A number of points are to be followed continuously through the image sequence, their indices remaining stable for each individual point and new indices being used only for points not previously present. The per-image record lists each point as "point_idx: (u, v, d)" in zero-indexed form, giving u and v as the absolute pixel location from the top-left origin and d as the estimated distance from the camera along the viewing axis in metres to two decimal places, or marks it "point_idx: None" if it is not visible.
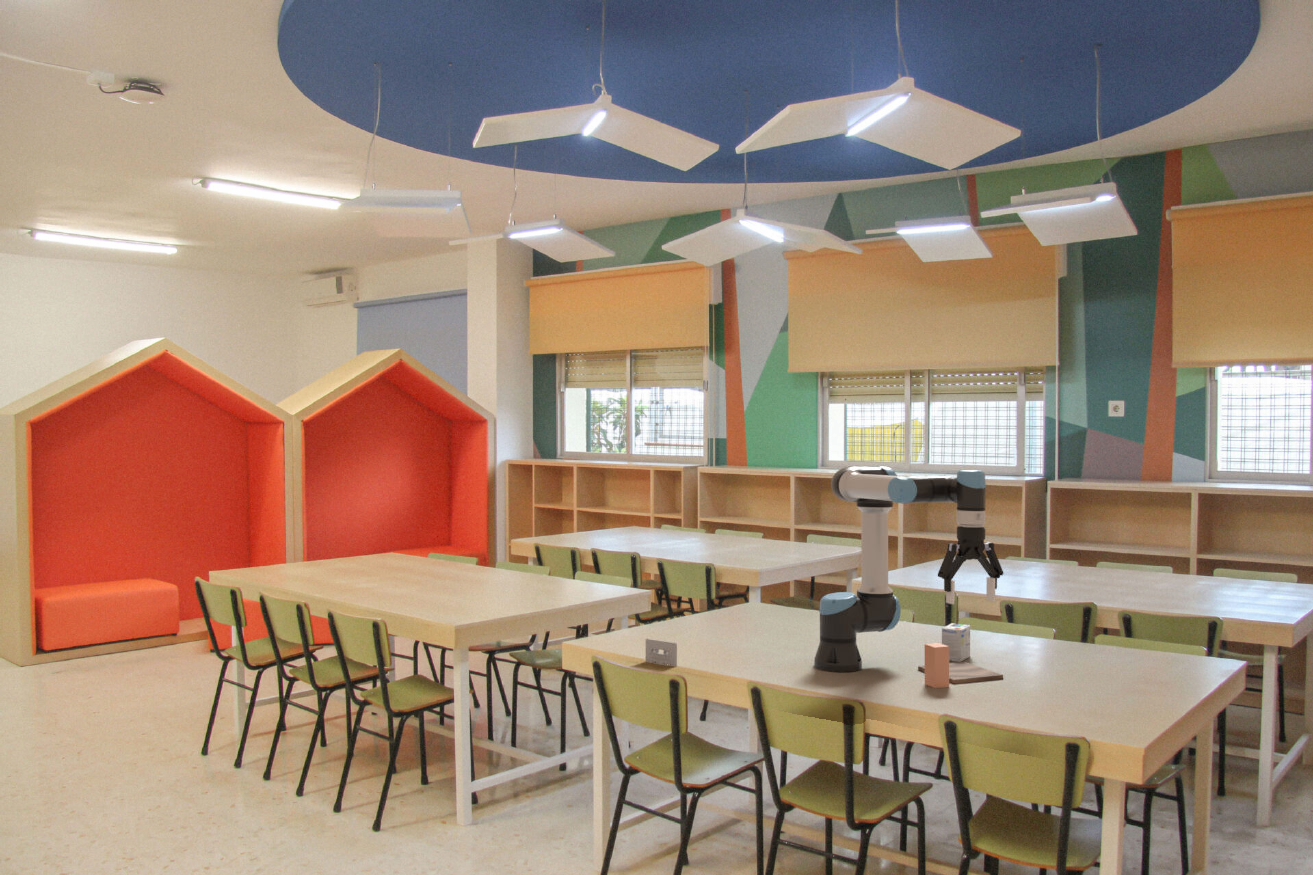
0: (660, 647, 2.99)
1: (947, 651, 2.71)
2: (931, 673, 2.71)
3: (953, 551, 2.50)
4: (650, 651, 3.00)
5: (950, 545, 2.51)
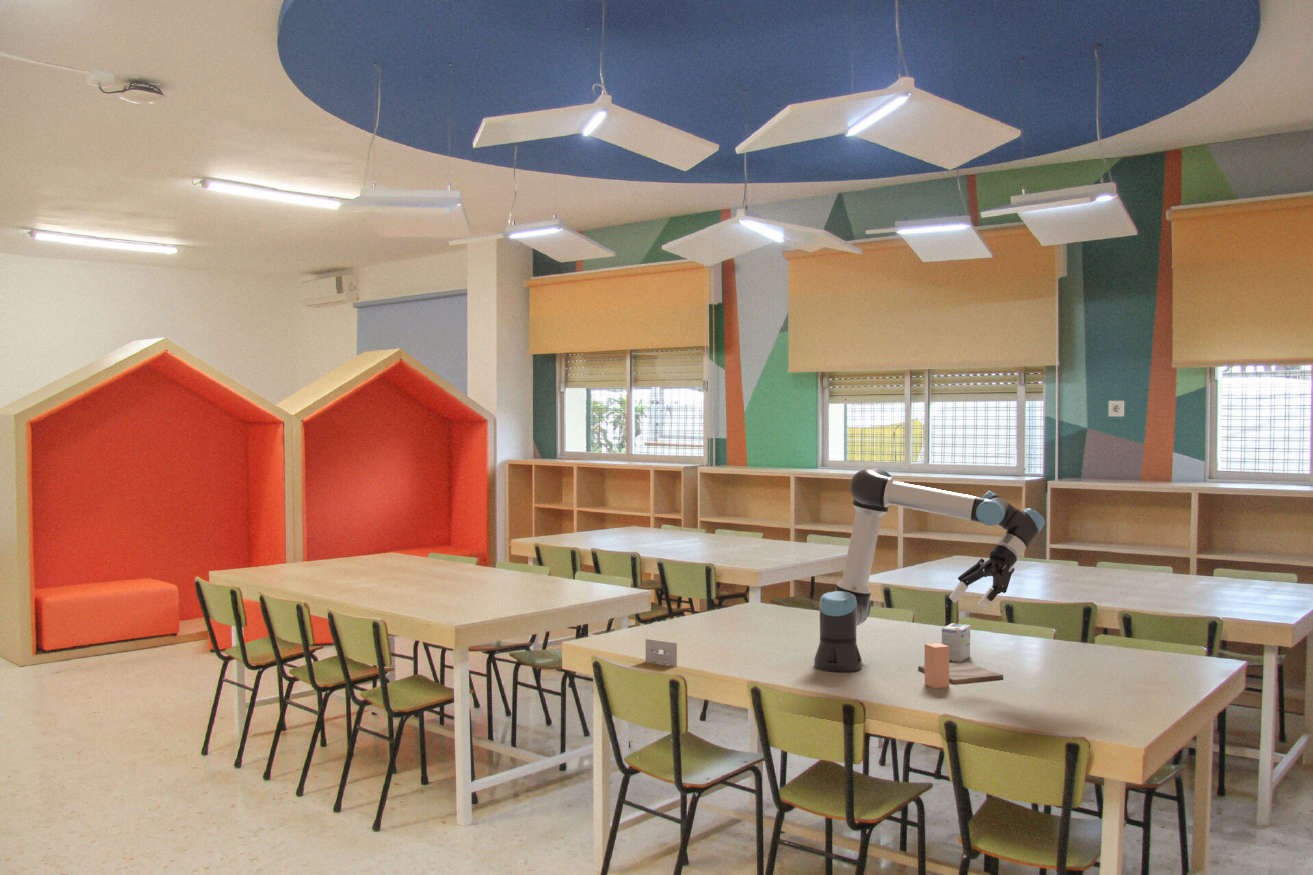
0: (660, 647, 2.98)
1: (947, 651, 2.71)
2: (931, 673, 2.71)
3: None
4: (650, 651, 3.00)
5: (1012, 567, 2.72)
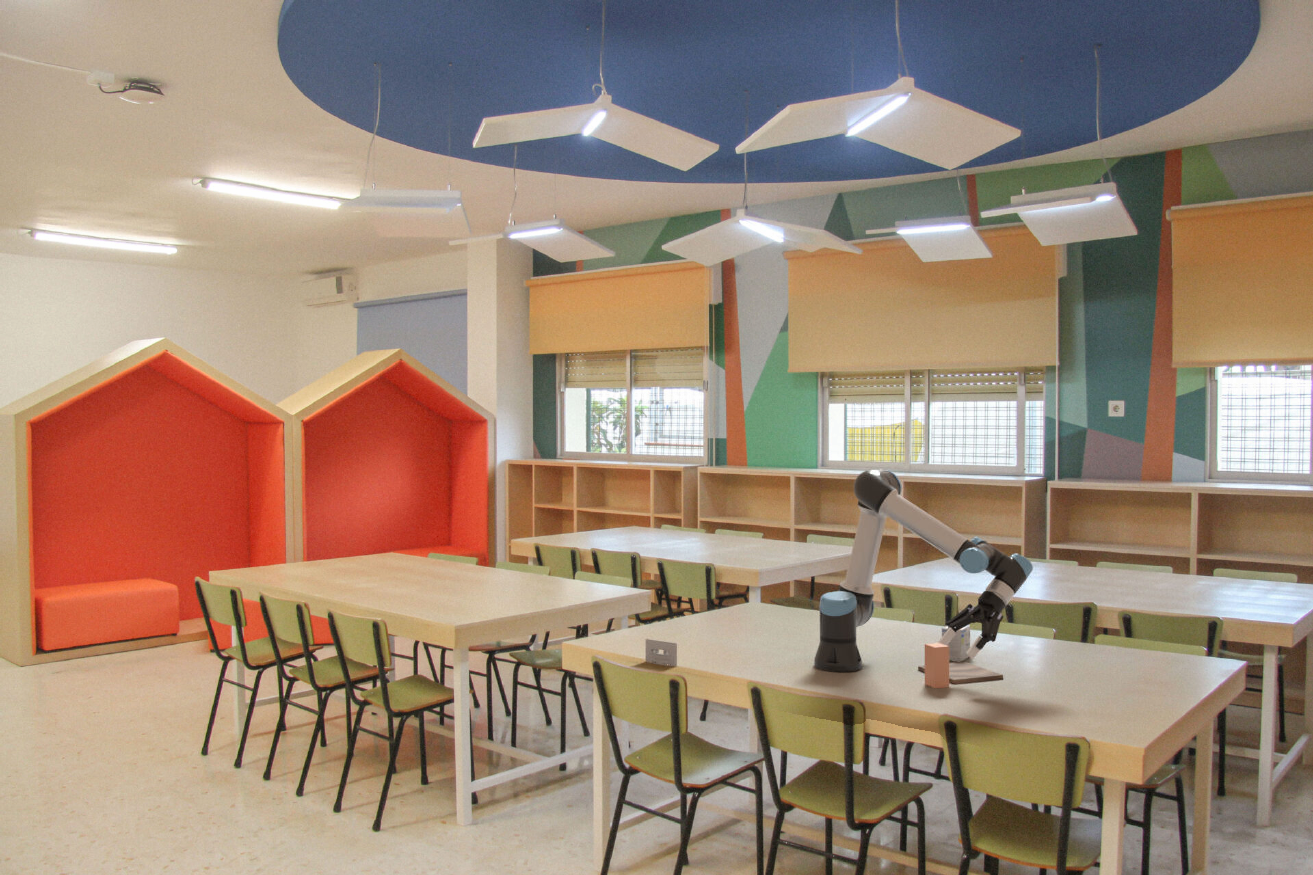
0: (660, 647, 2.98)
1: (947, 651, 2.71)
2: (931, 673, 2.71)
3: None
4: (650, 651, 3.00)
5: (1000, 615, 2.71)
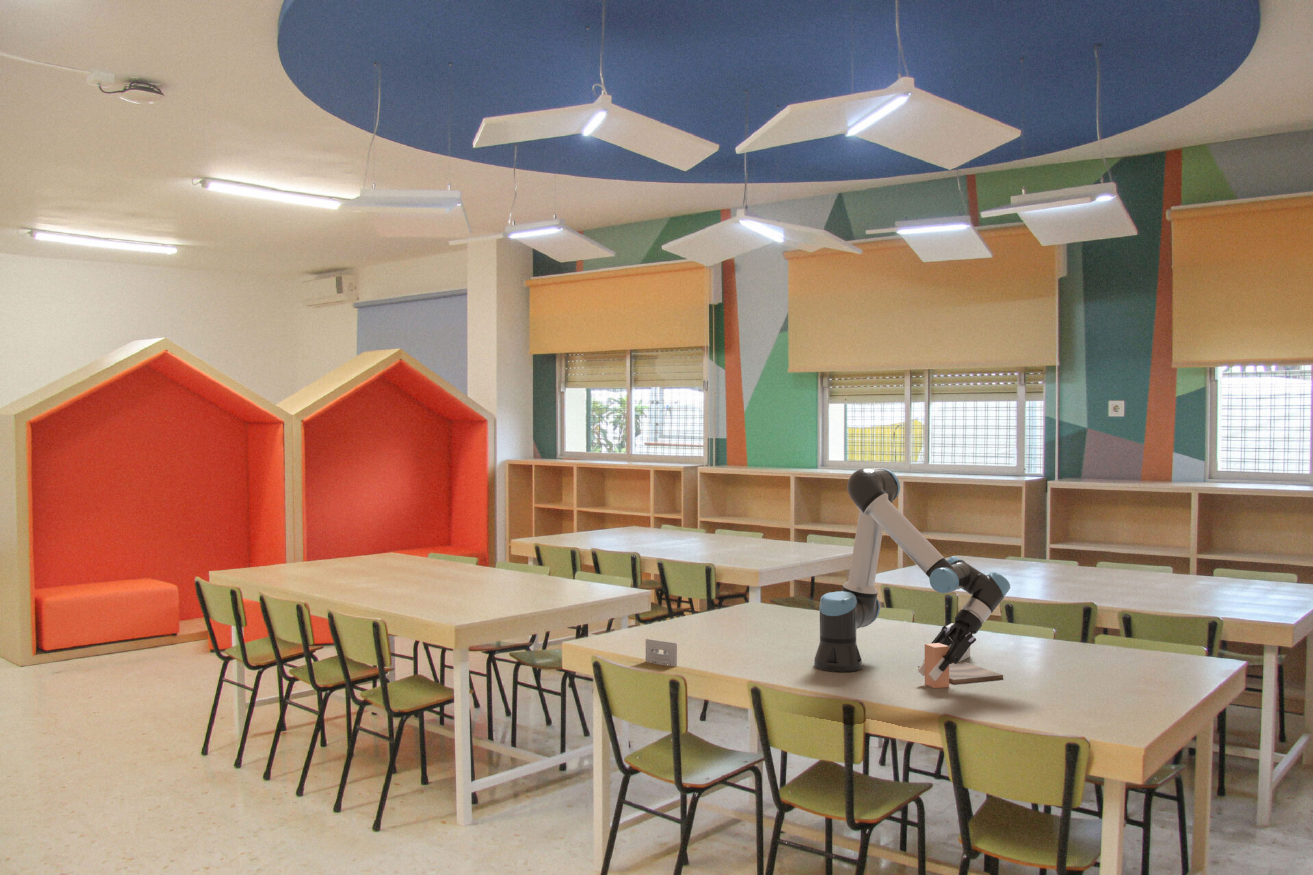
0: (660, 647, 2.98)
1: (947, 651, 2.71)
2: None
3: None
4: (650, 651, 3.00)
5: (973, 638, 2.69)
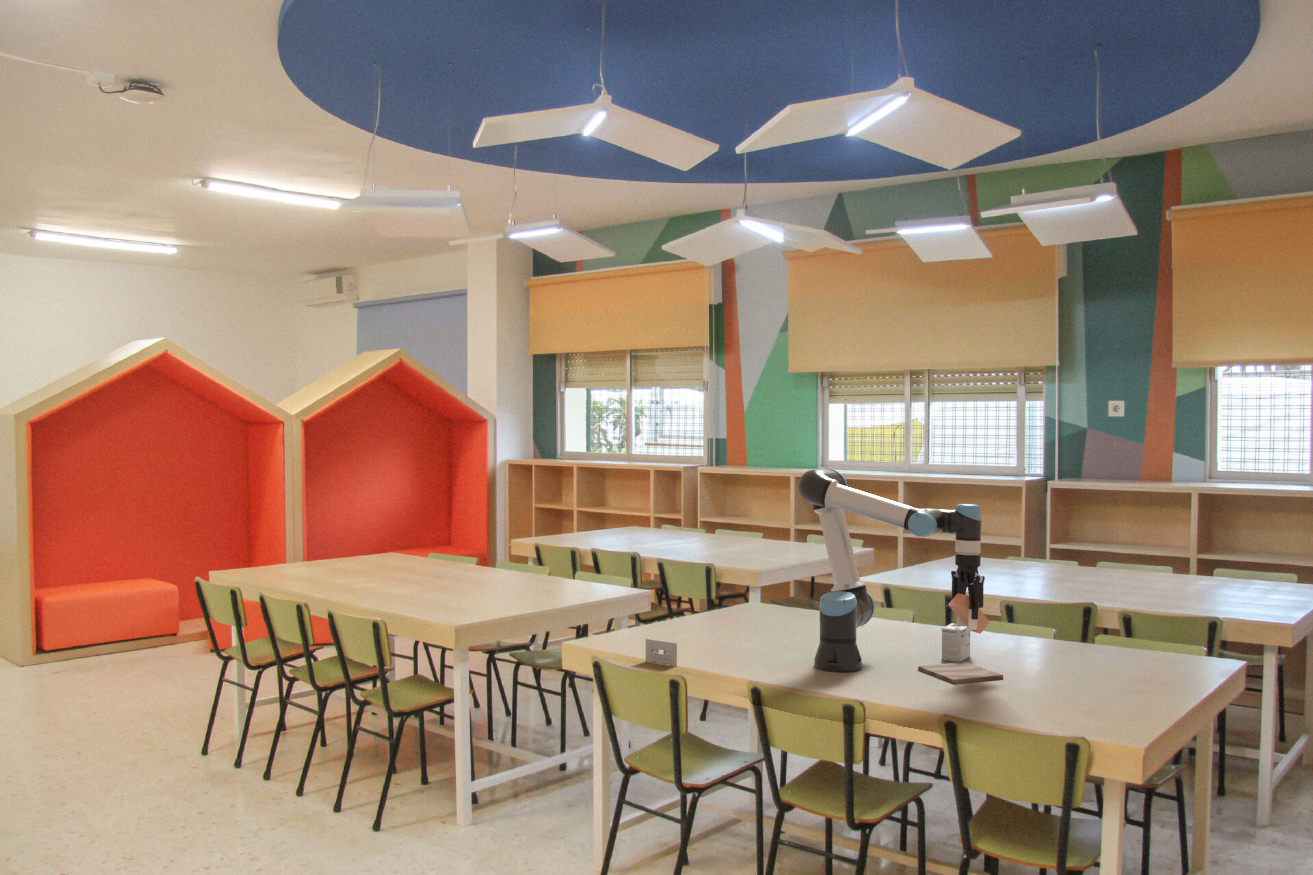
0: (660, 647, 2.98)
1: (969, 600, 2.84)
2: None
3: None
4: (650, 651, 3.00)
5: (981, 578, 2.80)
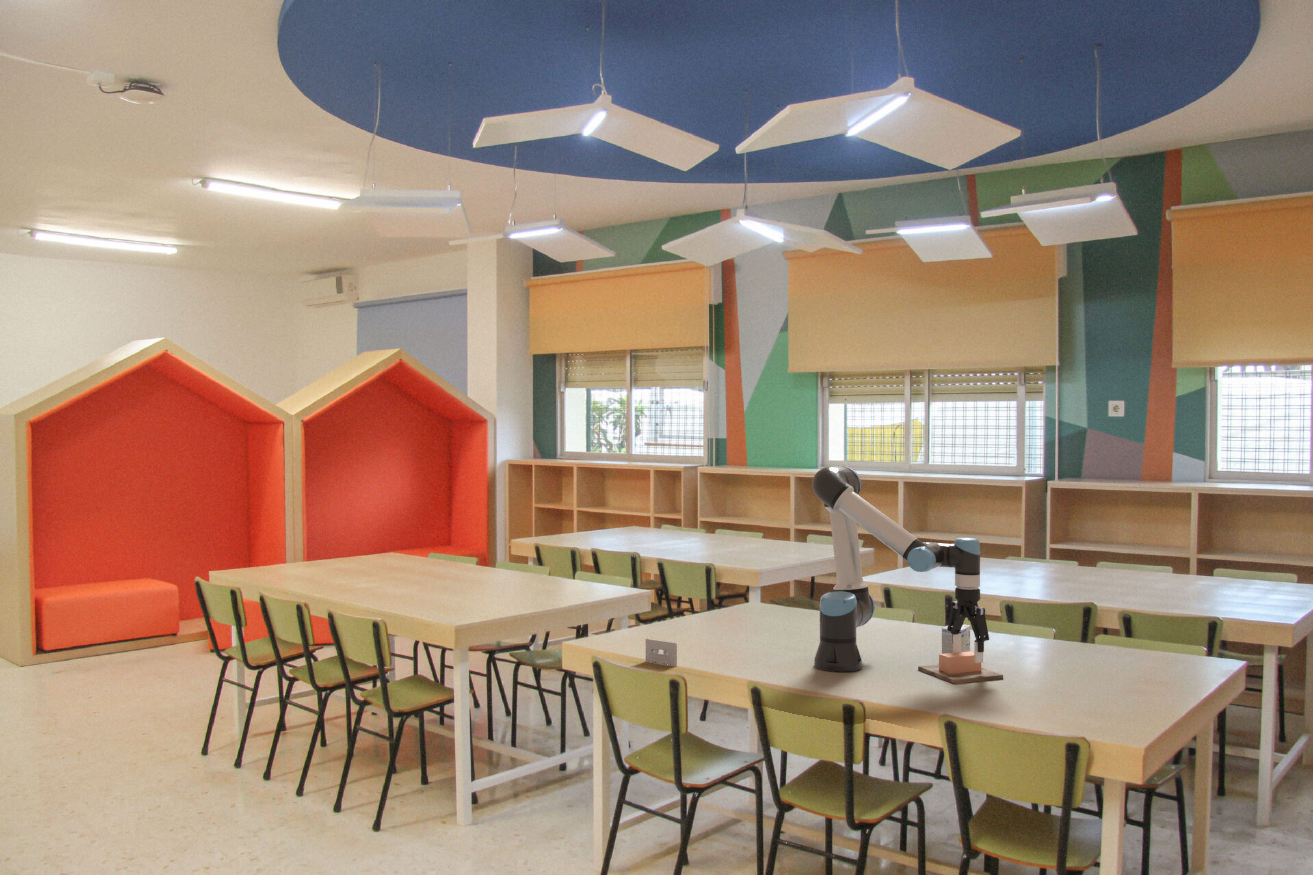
0: (660, 647, 2.98)
1: (953, 659, 2.82)
2: None
3: None
4: (650, 651, 3.00)
5: (982, 610, 2.80)
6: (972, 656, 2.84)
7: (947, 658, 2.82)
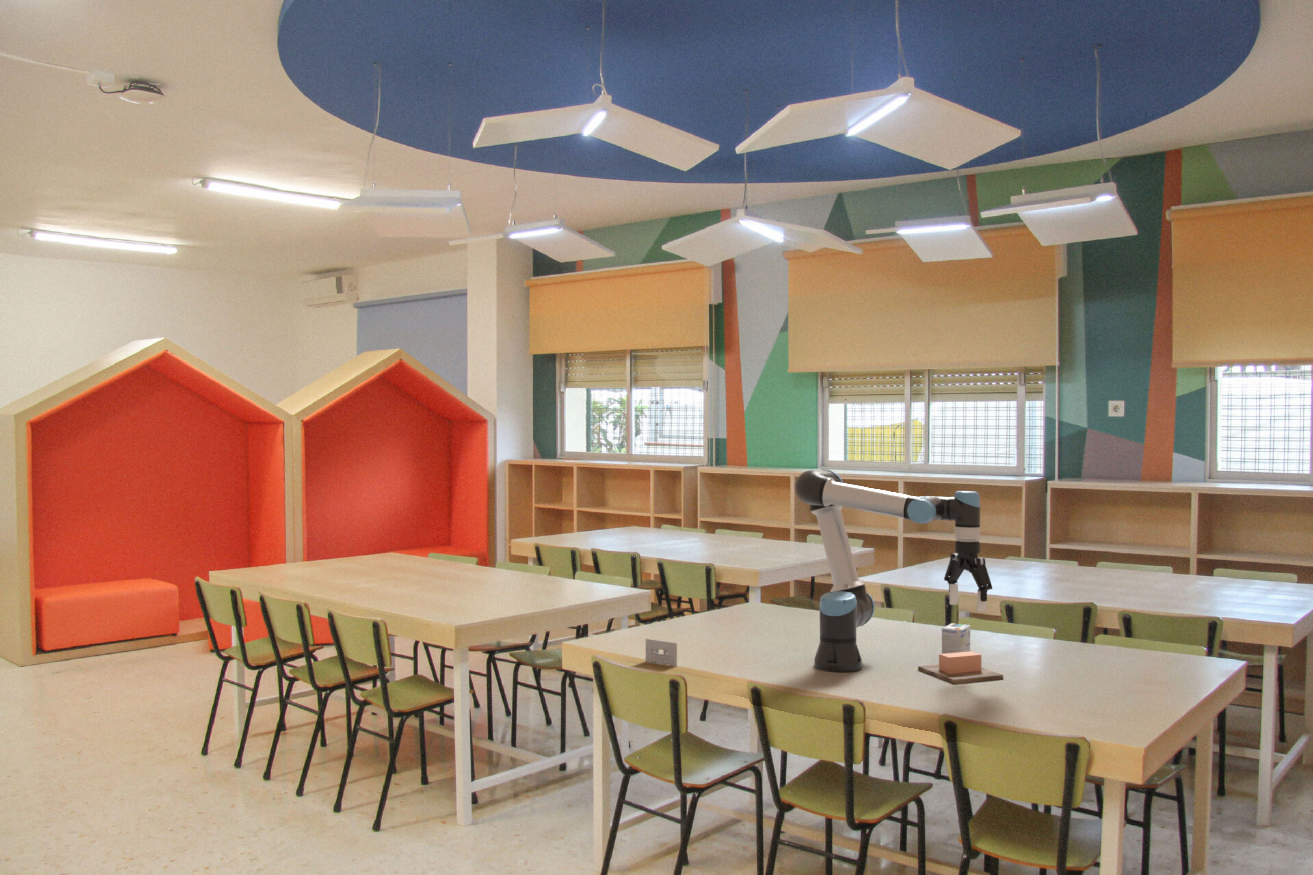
0: (660, 647, 2.99)
1: (953, 659, 2.82)
2: None
3: None
4: (650, 651, 3.00)
5: (982, 559, 2.81)
6: (972, 656, 2.84)
7: (947, 658, 2.82)
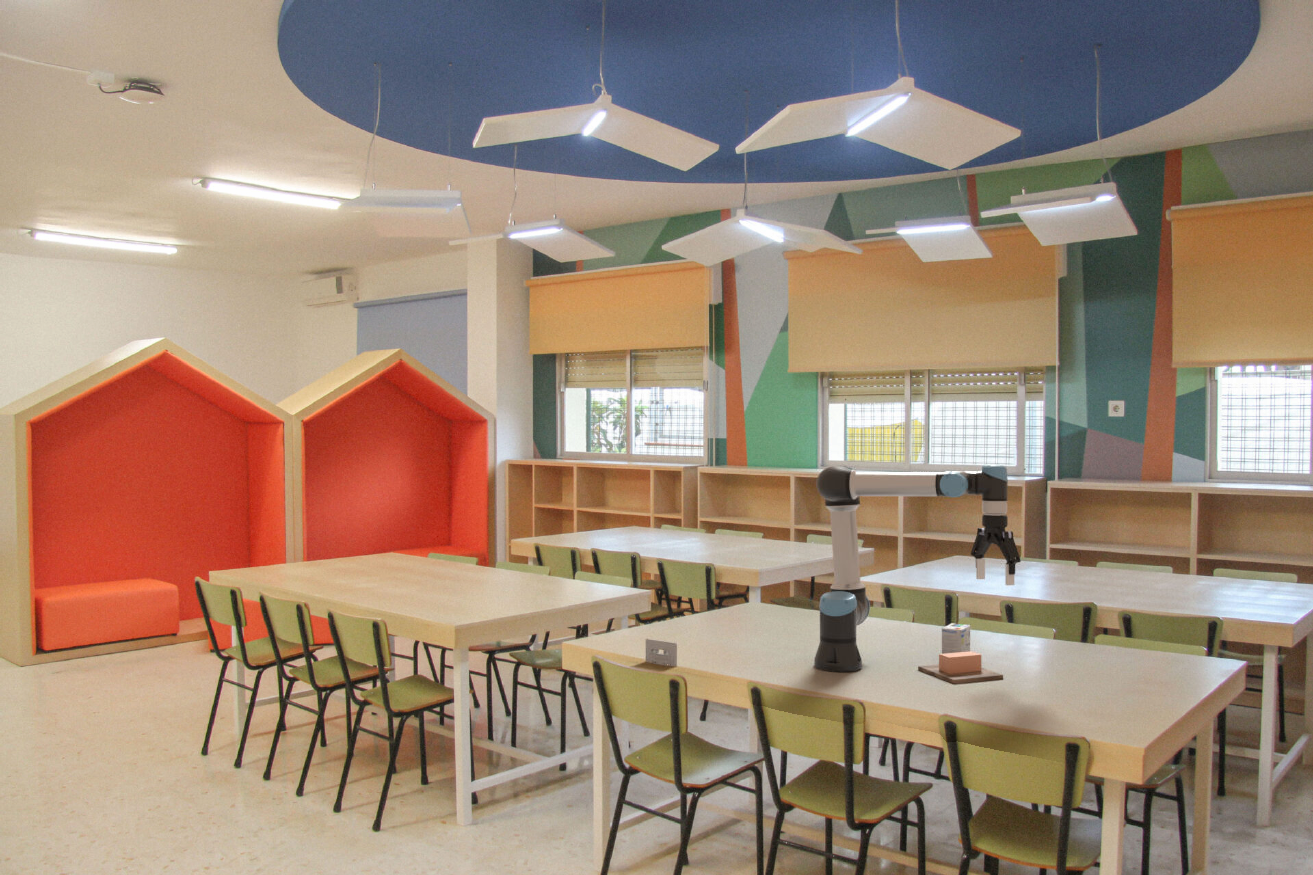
0: (660, 647, 2.98)
1: (953, 659, 2.82)
2: None
3: None
4: (650, 651, 3.00)
5: (1010, 533, 2.80)
6: (972, 656, 2.84)
7: (947, 658, 2.82)
